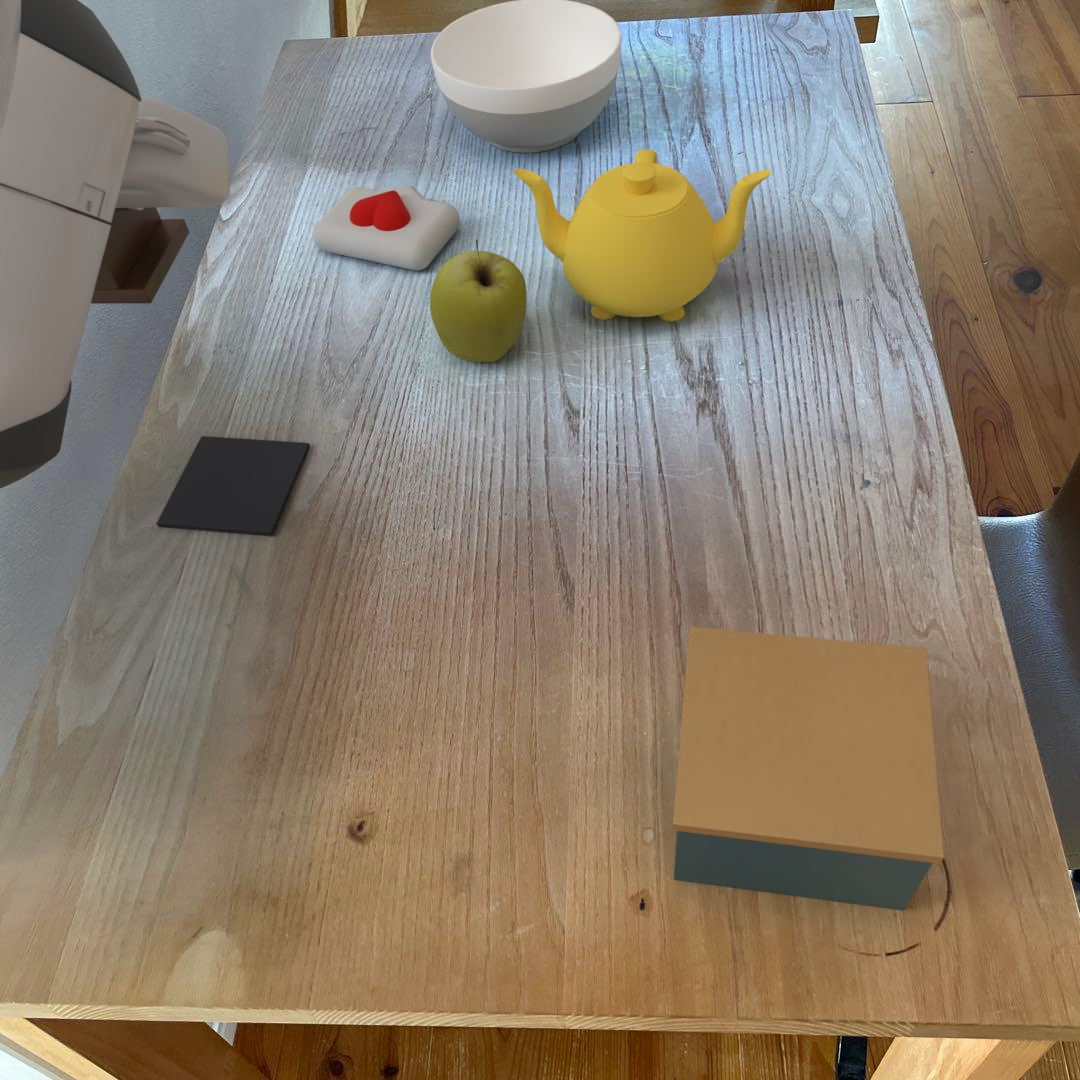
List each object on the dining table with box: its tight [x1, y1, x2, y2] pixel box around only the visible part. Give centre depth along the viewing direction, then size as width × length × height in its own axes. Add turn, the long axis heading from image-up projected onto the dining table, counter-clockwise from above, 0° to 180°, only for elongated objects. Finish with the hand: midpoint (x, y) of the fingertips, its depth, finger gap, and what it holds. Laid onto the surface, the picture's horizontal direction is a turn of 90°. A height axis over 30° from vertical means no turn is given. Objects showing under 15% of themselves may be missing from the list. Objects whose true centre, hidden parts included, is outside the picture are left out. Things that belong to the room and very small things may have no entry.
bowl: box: [430, 0, 623, 154], centre depth 101 cm, size 19×19×9 cm
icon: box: [312, 185, 461, 271], centre depth 92 cm, size 12×4×10 cm
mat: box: [156, 435, 311, 537], centre depth 75 cm, size 9×9×1 cm
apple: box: [429, 238, 527, 363], centre depth 79 cm, size 8×8×10 cm
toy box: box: [671, 626, 945, 911], centre depth 53 cm, size 11×12×8 cm
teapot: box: [513, 148, 772, 322], centre depth 82 cm, size 20×15×12 cm
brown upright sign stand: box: [66, 207, 190, 305], centre depth 56 cm, size 7×5×9 cm
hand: (104, 196), depth 57 cm, fingers closed on brown upright sign stand
